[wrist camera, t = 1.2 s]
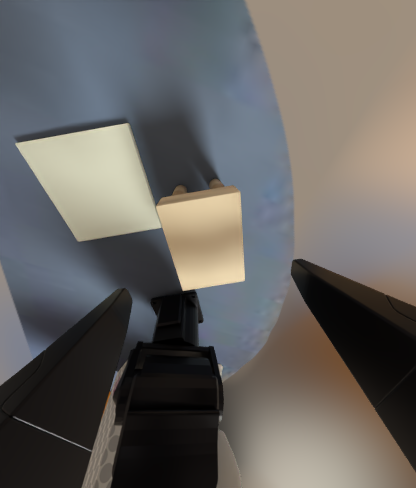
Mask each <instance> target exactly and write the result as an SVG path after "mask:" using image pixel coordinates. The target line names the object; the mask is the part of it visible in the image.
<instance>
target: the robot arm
mask: <svg viewBox="0 0 416 488" xmlns="http://www.w3.org/2000/svg"><path fill="white" fill-rule="evenodd" d="M291 275H292V278H293V279H294V281H295V283H296V285H297V287H298V289H299V291H300V293H301V295H302V297H303V299H304V301H305V303H306V304H307V306H308V307H309V309H310V310H311V312H312V314H313V315H314V316H315V318H316V320H317V321H318V323H319V324H320V326H321V327H322V329H323V330H324V332H325V333H326V335H327V336H328V338H329V340H330V341H331V342H332V344H333V346H334V347H335V349H336V350H337V352H338V353H339V355H340V356H341V358H342V359H343V361H344V362H345V364H346V366H347V367H348V368H349V370H350V372H351V373H352V375H353V376H354V378H355V379H356V381H357V382H358V384H359V385H360V387H361V389H362V390H363V392H364V393H365V395H366V396H367V398H368V399H369V401H370V402H371V404H372V405H373V407H374V408H375V410H376V412H377V413H378V415H379V416H380V418H381V419H382V421H383V423H384V424H385V426H386V427H387V429H388V430H389V432H390V433H391V435H392V436H393V438H394V439H395V441H396V443H397V444H398V445H399V447H400V449H401V450H402V452H403V453H404V455H405V456H406V458H407V459H408V461H409V462H410V464H411V466H412V467H413V469H414V470H415V472H416V307H415V306H413V305H410V304H408V303H405V302H403V301H400V300H398V299H395V298H393V297H391V296H389V295H385V294H384V293H381V292H379V291H377V290H374V289H372V288H370V287H367V286H365V285H362V284H360V283H358V282H355V281H353V280H351V279H348V278H346V277H344V276H341V275H339V274H336V273H334V272H332V271H329V270H327V269H325V268H322V267H319V266H317V265H315V264H313V263H310V262H308V261H305V260H303V259H295V260H293V261H292V267H291ZM193 295H194V296H193ZM150 303H151V306H152V308H153V310H154V312H155V314H156V316H157V320H156V325H155V329H154V334H153V338H152V343H143V341H138V343H137V346H136V348H134V349H133V350H131V351H130V355H129V358H128V361H127V364H126V367H125V369H124V371H123V374H122V376H121V378H120V380H119V382H118V385H117V387H116V389H115V391H114V394H113V398H112V400H113V402H114V404H115V406H116V408H115V413H116V415H115V420H114V426H122V427H121V432H120V436H119V441H118V445H117V449H116V454H115V458H114V463H113V467H112V482H111V487H110V488H216V487H217V483H218V424H219V423H220V422H221V419H222V415H223V404H224V403H223V401H224V398H223V385H222V380H221V375H220V371H219V367H218V363H217V359H216V354H215V350H214V347H213V346H209V347H202V346H199V338H198V324H199V323H202V322H203V315H202V311H201V308H200V304H199V300H198V296H197V293H196V292H190V293H184V294H177V295H171V296H165V297H159V298H153V299H151V302H150ZM131 307H132V298H131V296H130V294H129V292H128V290H127V289H126V288H121V289H117V290H116V291H115V292H113V293H112V294H111V295H110V296H109V297H107V298H106V299H105V300H104V301H103V302H101V303H100V304H99V305H98V306H97V307H96V308H94V309H93V310H92V311H91V312H90V313H88V314H87V315H86V316H85V317H84V318H82V319H81V320H80V321H79V322H78V323H76V324H75V325H74V326H73V327H72V328H70V329H69V330H68V331H67V332H66V333H64V334H63V335H62V336H61V337H60V338H58V339H57V340H56V341H55V342H54V343H52V344H51V345H50V346H49V347H48V348H46V350H44V351H43V352H42V353H40V354H39V355H38V356H37V357H36V358H34V359H33V360H32V361H31V362H30V363H28V364H27V365H26V366H25V367H24V368H22V369H21V370H20V371H19V372H17V373H16V374H15V375H14V376H12V377H11V378H10V379H8V380H7V381H6V382H5V383H3V384H2V385H1V386H0V488H82V485H83V482H84V478H85V475H86V472H87V468H88V465H89V461H90V458H91V454H92V452H91V451H92V450H93V447H94V443H95V440H96V437H97V433H98V430H99V426H100V423H101V419H102V416H103V412H104V409H105V406H106V402H107V399H108V395H109V392H110V388H111V385H112V381H113V378H114V375H115V371H116V368H117V364H118V361H119V357H120V354H121V350H122V347H123V343H124V340H125V337H126V333H127V329H128V324H129V318H130V313H131Z"/></svg>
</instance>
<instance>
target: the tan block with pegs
mask: <svg viewBox="0 0 416 488" xmlns="http://www.w3.org/2000/svg"><path fill="white" fill-rule="evenodd" d="M209 188H210V189H209V190H203V191H197V192H192V193H187V189H186V187H185V186H183V185H178V186H177V187H176V188H175V190H174V192H173V194H172V196H169V197H163V198H161V199H160V201H159V202H158V204H157V205H156V209H157V212H158V215H159V218H160V221H161V224H162V228H163V231H164V234H165V237H166V240H167V243H168V246H169V249H170V252H171V255H172V258H173V262H174V265H175V268H176V271H177V274H178V277H179V280H180V283H181V286H182V289H183V291H186V290H192V289H198V288H204V287H210V286H216V285H222V284H228V283H234V282H240V281H245V275H244V255H243V235H242V215H241V196H240V191H239V190H238V189H237V188H236V187H235V186H234V185H232V186H226V187H224V185H223V184H222V183H221V182H220V180H218V179H213V180H211V181H210V183H209Z"/></svg>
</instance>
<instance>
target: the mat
mask: <svg viewBox="0 0 416 488" xmlns="http://www.w3.org/2000/svg"><path fill="white" fill-rule="evenodd" d="M15 144H16V146H17V147H18V149H19V150H20V152H21V154H22V155H23V157H24V158H25V160H26V161H27V163H28V164H29V166H30V168H31V169H32V171H33V172H34V174H35V175H36V177H37V178H38V180H39V182H40V183H41V185H42V186H43V188H44V189H45V191H46V192H47V194H48V196H49V197H50V199H51V200H52V202H53V203H54V205H55V206H56V208H57V210H58V211H59V213H60V214H61V216H62V217H63V219H64V220H65V222H66V224H67V225H68V227H69V228H70V230H71V231H72V233H73V234H74V236H75V238H76V239H77V241H78V242H81V241H86V240H92V239H98V238H104V237H110V236H116V235H122V234H128V233H133V232H139V231H145V230H151V229H157V228H162V224H161V221H160V218H159V215H158V212H157V209H156V204H155V201H154V198H153V195H152V192H151V189H150V186H149V183H148V179H147V176H146V173H145V170H144V167H143V164H142V161H141V158H140V155H139V151H138V148H137V145H136V142H135V139H134V136H133V133H132V130H131V127H130V124H128V123H125V124H120V125H114V126H109V127H103V128H98V129H92V130H87V131H81V132H76V133H70V134H65V135H59V136H54V137H48V138H42V139H37V140H31V141H26V142H20V143H15Z"/></svg>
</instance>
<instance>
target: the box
mask: <svg viewBox="0 0 416 488" xmlns="http://www.w3.org/2000/svg"><path fill="white" fill-rule="evenodd" d="M127 361H128V360H127ZM127 361H126V362H125V364H124V365H123V366H122V367H121V369H120V370H119V371H118V373H117V376H116V379H115V382H114V385H113V388H112V391H111V394H110V397H109V399H108V402H107V405H106V408H105V411H104V414H103V417H102V420H101V423H100V426H99V430H98V433H97V437H96V440H95V443H94V447H93V450H92V451H91V452H92V454H91V458H90V461H89V465H88V468H87V472H86V475H85V478H84V482H83V485H82V488H110V487H111V482H112V467H113V463H114V458H115V454H116V449H117V445H118V441H119V436H120V432H121V427H122V426H114V420H115V415H116V413H115V408H116V406H115V404H114V402H113V400H112V398H113V394H114V391H115V389H116V387H117V385H118V382H119V380H120V378H121V376H122V374H123V371H124V369H125V367H126V364H127Z"/></svg>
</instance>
